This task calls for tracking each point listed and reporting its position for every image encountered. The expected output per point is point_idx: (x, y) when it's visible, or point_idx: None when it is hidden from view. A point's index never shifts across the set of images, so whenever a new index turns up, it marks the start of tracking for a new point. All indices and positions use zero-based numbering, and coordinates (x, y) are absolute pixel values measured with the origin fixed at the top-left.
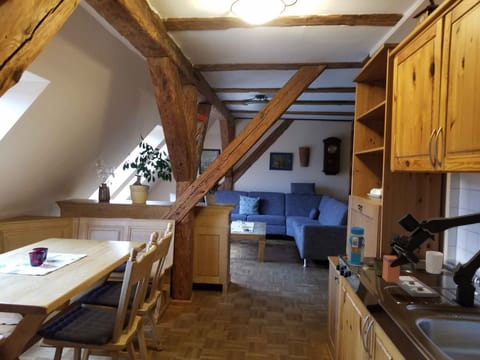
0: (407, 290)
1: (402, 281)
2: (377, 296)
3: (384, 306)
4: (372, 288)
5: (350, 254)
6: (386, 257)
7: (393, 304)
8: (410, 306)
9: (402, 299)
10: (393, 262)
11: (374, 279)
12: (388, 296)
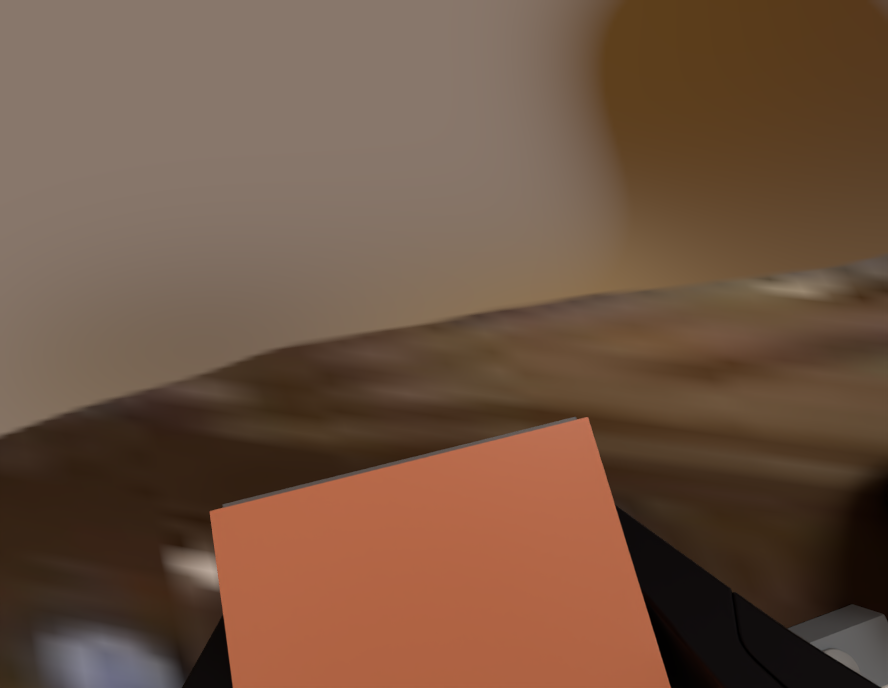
0: None
1: None
2: (302, 391)
3: (78, 421)
4: (492, 372)
5: None
6: (367, 471)
7: (142, 513)
8: (126, 683)
9: None
10: (214, 654)
11: (752, 423)
12: None
